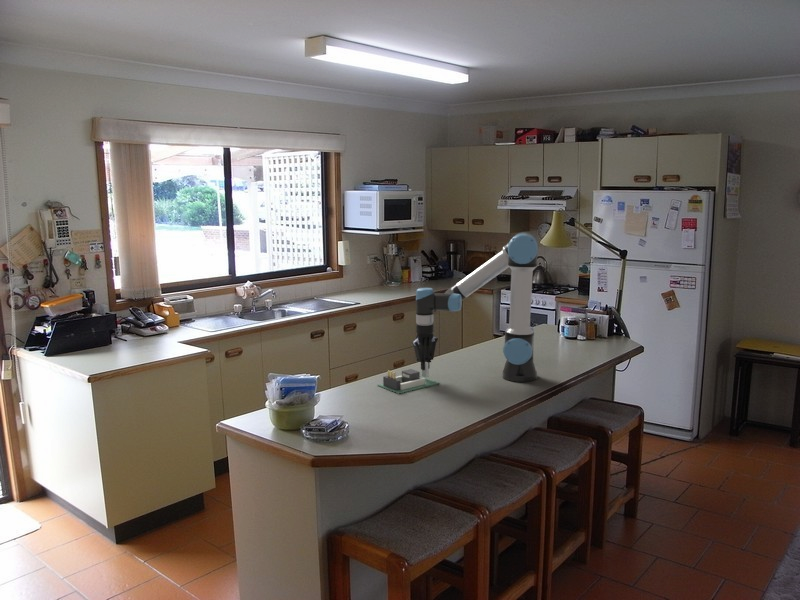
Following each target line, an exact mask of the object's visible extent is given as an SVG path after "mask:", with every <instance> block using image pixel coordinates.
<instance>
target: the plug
mask: <svg viewBox="0 0 800 600" xmlns="http://www.w3.org/2000/svg"><path fill="white" fill-rule="evenodd" d="M401 375H402V382H403V383H404V382H408V381H412V380H416V379H420V376H421V375H420V371H418V370H415V369H412V368H409V369H406V370H402V371H401Z"/></svg>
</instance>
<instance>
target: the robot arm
mask: <svg viewBox="0 0 800 600" xmlns="http://www.w3.org/2000/svg"><path fill="white" fill-rule="evenodd" d="M538 251H539V241H538V239H537V237H536V236H535V235H534V234H533V233H532V232H528V231H521V232H518V233H517V234H515V235H514V236H513V237H512V238H510V240H509V242H507V243H506V244H505V245H504V246H502V250H501V251H499V252H498V253H497V254H495V255H493V257H491V258H489V260H487V261H486V262H484V263H482V264H481V265H480V266H479V267H477V268H476V269H475V270H474V271H472V272H471V273H469V274H468V275H466V276H465V277H464V278H462V279H461V280H460V281H458V282H457V283H456V284H455V285H452V286H451V287H450V288H448V289H447V290H446V291H444V292H442V293H440V292H439V293H438V292H434V289H433V288H432V287H419V288H417V289H416V293H415V323H416V325H415V327H416V330H415V331H416V339H415V340H412V341H411V344H412V345H413V349H414V353H415V358H416V361H417V362H419V363H420V370H421V377H424V378H429V376H430V375H429V369H430V365H431V364H430V363H431V362H432V361H433V360H434V356H435V351H436V345H437V342H438V341H439V338H438V337H435V336H434V332H435V331H434V330H435V329H434V321H435V320H434V312H435V311H439V312H460V311H461V309H462V305H463V304H462V302H463V301H464V300H465V299H466V298H468V297H469V296H470V295H472V294H474V293H475V292H476V291H478V290H479V289H481V288H482V287H483V286H484V285H486V284H487V283H489V282H490V281H492V280H493V279H494V278H496V277H497V276H498V275H500V274H501V273H503V272H504V271H505V270H507V269H508V268H509V269H510V270H511V273H510V274H511V275H510V293H509V294H510V298H509V317H508V319H509V320H508V323H509V324H508V327H507V328H506V329H505V330H504V344H503V345H504V346H503V348H502V352H503V356H504V357H505V359H506V360H505V363H504V367H503V369H502V374H501V375H502V376H501V377H502V378H503V379H504V380H506V381H509V380H510V382H515V381H516V382H517V383H519V382H520V383H525V382H533V381H536V380H537V379H538V372H537V370H536V366H535V363H534V346H535V345H534V344H535V343H534V341H535V339H534V338H535V337H534V336H535V329H534V328H533V327H532V326H531V312H532V311H531V310H532V307H531V306H532V292H533V291H532V290H533V273H534V272H533V271H534V270H535V269H537V267H538ZM535 379H536V380H535Z"/></svg>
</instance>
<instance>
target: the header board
mask: <svg viewBox="0 0 800 600" xmlns="http://www.w3.org/2000/svg"><path fill="white" fill-rule="evenodd" d="M382 378H383V379H382V383H378V384H377V387H379V386H380V388H382V387H383V388H382V389H384V388H385V390H387V389H388V390H387V391H389V390H390V392H392V391H393V392H392V393H395V392H396V393H395V394H397V393H401V394H404V392H405V393H409V392H412V390H413V391H417V390H420V389H425V388H429V387H433V386H437V385H440V382H439V381H436V380H432V379H430V378H428V377H423V376H422V375H420V379H416V380H412V381H408V382H404V383H403V382H402V374H401V375H398V376H396V372H395V371H392V370H390V369H389V370H387V375H385V376H383V377H382ZM408 391H409V392H408Z"/></svg>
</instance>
